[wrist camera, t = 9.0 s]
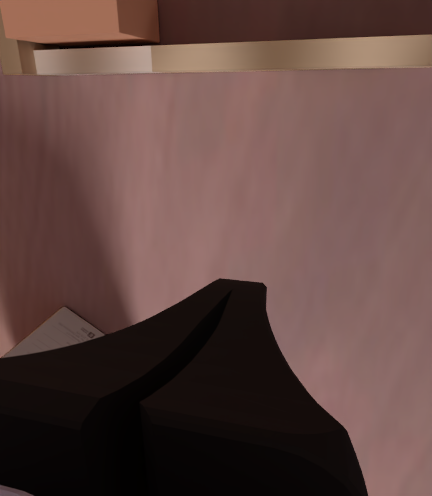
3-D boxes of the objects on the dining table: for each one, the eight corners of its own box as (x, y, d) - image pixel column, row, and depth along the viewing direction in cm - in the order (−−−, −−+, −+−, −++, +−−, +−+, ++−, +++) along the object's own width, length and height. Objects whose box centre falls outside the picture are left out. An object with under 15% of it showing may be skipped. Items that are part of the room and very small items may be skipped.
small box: (64, 302, 26) (-154, 479, 14) (145, 360, 26) (-7, 584, 14) (24, 377, 30) (-177, 568, 18) (95, 428, 30) (-59, 652, 18)
